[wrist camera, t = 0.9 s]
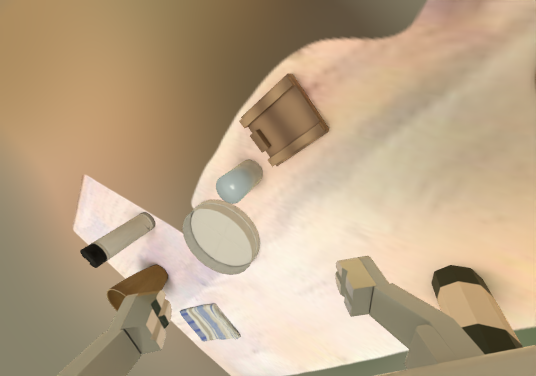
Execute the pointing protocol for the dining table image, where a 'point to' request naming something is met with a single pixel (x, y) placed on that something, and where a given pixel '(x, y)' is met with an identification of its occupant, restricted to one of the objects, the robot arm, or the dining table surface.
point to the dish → (221, 236)
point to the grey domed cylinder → (239, 181)
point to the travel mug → (117, 239)
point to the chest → (284, 121)
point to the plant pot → (137, 285)
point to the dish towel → (209, 322)
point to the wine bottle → (473, 309)
